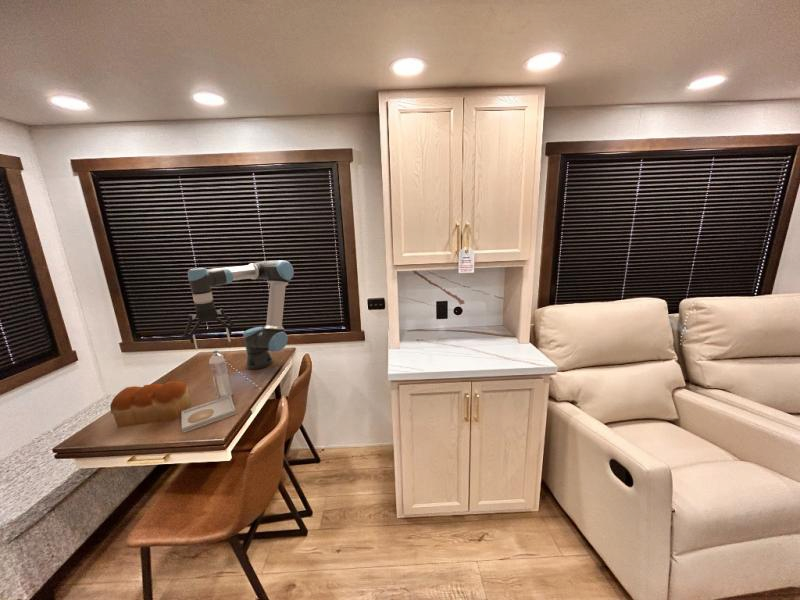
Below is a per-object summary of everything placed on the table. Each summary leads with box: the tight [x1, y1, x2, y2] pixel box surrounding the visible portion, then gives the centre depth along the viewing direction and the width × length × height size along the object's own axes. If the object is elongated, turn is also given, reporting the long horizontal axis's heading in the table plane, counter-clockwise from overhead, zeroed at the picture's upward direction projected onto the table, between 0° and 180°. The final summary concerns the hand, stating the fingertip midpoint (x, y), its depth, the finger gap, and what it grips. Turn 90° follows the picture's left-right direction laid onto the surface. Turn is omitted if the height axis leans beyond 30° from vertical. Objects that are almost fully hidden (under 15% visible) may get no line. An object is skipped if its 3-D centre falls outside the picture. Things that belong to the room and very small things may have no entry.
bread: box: [110, 380, 191, 428], centre depth 139 cm, size 25×12×15 cm, turn 101°
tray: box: [181, 395, 237, 434], centre depth 138 cm, size 20×16×2 cm
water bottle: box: [208, 349, 234, 399], centre depth 149 cm, size 7×7×25 cm
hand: (213, 344), depth 145 cm, fingers open, 13 cm apart
